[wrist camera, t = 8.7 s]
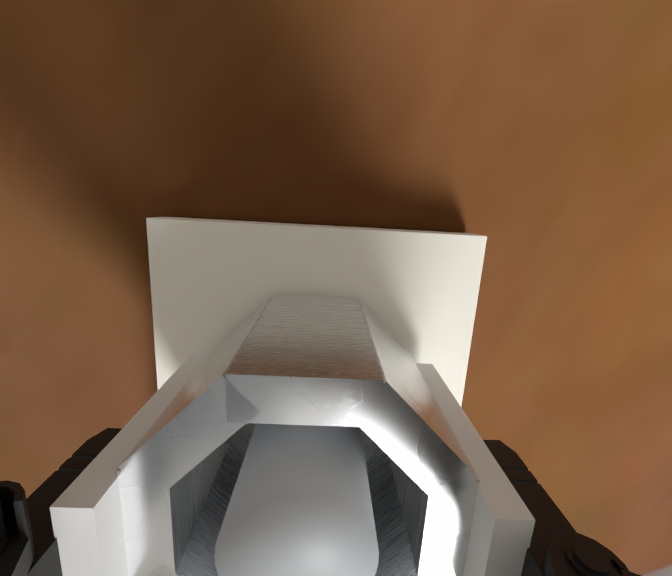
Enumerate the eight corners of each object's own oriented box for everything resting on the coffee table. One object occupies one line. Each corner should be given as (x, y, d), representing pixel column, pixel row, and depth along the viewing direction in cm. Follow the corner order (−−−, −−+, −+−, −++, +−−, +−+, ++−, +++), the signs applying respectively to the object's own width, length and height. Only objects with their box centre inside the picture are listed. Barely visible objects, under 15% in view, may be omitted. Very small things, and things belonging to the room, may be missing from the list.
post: (180, 478, 16) (26, 762, 8) (165, 216, 14) (-91, 232, 5) (434, 486, 17) (540, 763, 8) (470, 233, 14) (678, 271, 6)
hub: (217, 467, 14) (136, 659, 8) (213, 290, 12) (105, 369, 6) (398, 472, 14) (448, 663, 8) (417, 300, 12) (497, 385, 7)
